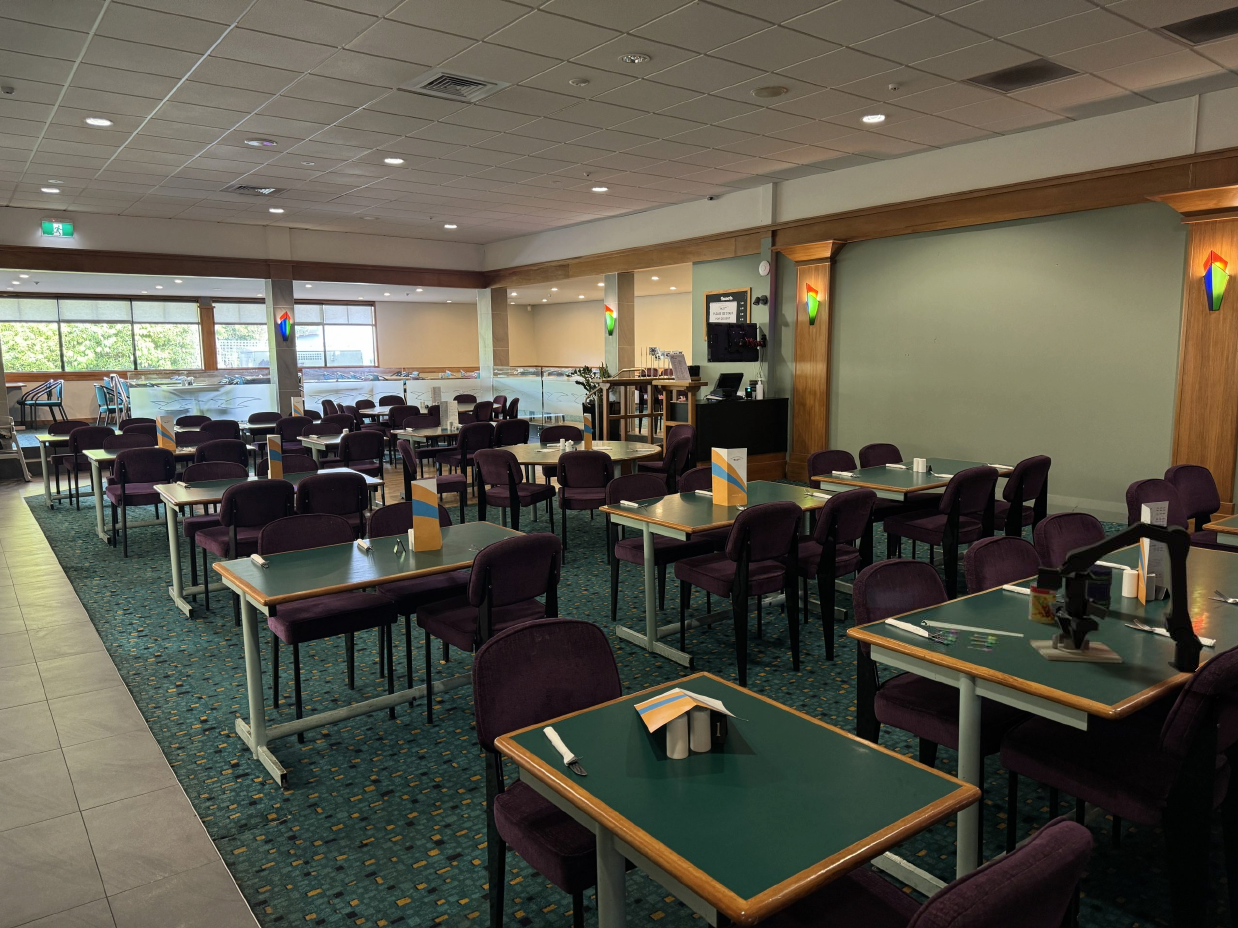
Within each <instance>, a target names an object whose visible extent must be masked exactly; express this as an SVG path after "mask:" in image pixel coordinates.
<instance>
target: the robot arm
mask: <svg viewBox="0 0 1238 928" xmlns="http://www.w3.org/2000/svg"><path fill="white" fill-rule="evenodd" d="M1141 539H1148V540H1152V541H1155V542H1158V543H1162V544H1164V547H1165V550H1166V553H1167V556H1168V563H1169V565H1168V566H1169V592H1170V593H1169V594H1170V608H1169V612H1165V611H1164V612H1163V613H1162V614H1163V618H1164V623H1163V627H1164V630H1165V631H1166V633H1168V635H1169V636H1170V639H1171V640H1172V641H1173V642H1175V645H1174V653H1173V654H1174V656H1173V661H1167V664H1168V665H1169V666H1171V667H1173V668H1174V669H1176V670H1177V671H1178V672H1183V673H1195V672H1194V671H1195V670H1196V669H1197V668H1198V667H1200V657H1201V652H1202V650H1203V648H1204V645H1203V643H1202V641H1201V639H1200V638H1199V636H1198V635H1197V634H1196V633H1195V631H1194V627H1193V623H1192V619H1191V617H1190V613H1189V606H1188V605H1189V604H1188V601H1189V600H1188V579H1187V578H1188V577H1187V576H1188V575H1187V572H1188V571H1187V559H1188V556H1189V552H1190V548H1191V542H1192V537H1191V534H1189V532H1188V530H1186V529H1185V528H1184V527H1182V526H1180V525H1175V524H1174V525H1170V526H1166V525H1162V524H1154V523H1148V522H1145V521H1136V522H1135V523H1133V524H1132V525H1130V526H1127V527H1126V528H1124V529H1122V530H1120V531H1118V532H1116V533H1114V534H1112V535H1110V536H1108V537H1106V538H1104V539H1102V540H1099V541H1097V542H1096V543H1093V544H1090V545H1089V544H1088V545H1084V546H1080V547H1078V548H1073V549H1071V550H1070V551H1068V552H1067V554H1066V557H1065V560H1064V561H1063V562H1062V563H1061V564H1060V565H1059V566H1058V568H1052V567H1051V568H1049V567H1045V566H1038V570H1037V575H1036V582H1037V590H1047V591H1057V593H1058V592H1059V591H1058V590H1061V589H1063V579H1064V592H1063V593H1061V598H1062V599H1063V602H1059V603H1058V602H1056V603H1054V604H1053V605H1052V608H1051V612H1052V613H1054V614H1055V620H1056V621H1057V623H1058V625H1059V627H1060V630H1061V633H1071V635H1072V639H1073V642H1074V645H1075V648H1076V649H1080V648H1081V645H1082V643H1083V641H1084V638H1085V637H1086V636H1087V635H1088V634H1089V633H1090V632H1098V631H1100V624H1099V623H1098V621H1096V620H1095V619H1094V618H1093V617H1096V618H1098V619H1100V620H1102V621H1105V619H1106V617H1107V614H1109V613H1108V610H1107V609H1106V608H1104V607H1102V606H1100V605H1098V601H1096V600H1094V599H1092V598H1090V599H1088V598H1087V581H1088V580H1091V581H1095V576H1094V575H1092V574H1091V573H1090V571H1089V570H1088V571H1087V572H1086V573H1080V572H1084V571H1085V570H1087V569H1088V568H1089V567H1091V566H1092V565H1096V563H1097V562H1098V561H1100V559H1102V558H1104V557H1106V556H1108V555H1109V554H1111V553H1113V552H1116V551H1118V550H1120V549H1122V548H1124V547H1126V546H1129V545H1130V544H1132V543H1134V542H1137V541H1139V540H1141ZM1091 616H1093V617H1091Z"/></svg>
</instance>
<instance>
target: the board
mask: <svg viewBox="0 0 1238 928" xmlns="http://www.w3.org/2000/svg"><path fill="white" fill-rule="evenodd" d="M1029 644H1030V645H1031V646H1032V647H1033V648H1034V649H1035V650H1036V651H1037V652H1038V653H1040V654H1041V656H1043V657H1044V658H1045V659H1046V660H1047V661H1048V660H1049V661H1069V662H1070V661H1073V662H1074V661H1075V662H1095V663H1116V664H1117V663H1120V664H1122V663H1123V658H1122V657H1121V656H1119V654H1118V653H1116V652H1115V651H1114V650H1112V649H1111V648H1110V647H1108V646H1106V645H1105V644H1103V643H1102V642H1099V641H1090V643H1089V650H1065V649H1064V644H1058V635H1057V634H1053V635H1052V640H1051V639H1050V640H1047V639H1030V640H1029Z"/></svg>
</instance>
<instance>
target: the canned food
mask: <svg viewBox="0 0 1238 928" xmlns="http://www.w3.org/2000/svg"><path fill="white" fill-rule="evenodd" d="M1029 587H1030V588H1029V603H1028V605H1029V606H1028V620H1030V621H1031V622H1035V623H1041V624H1053V623H1056V617H1055V615H1056V614H1054V613H1052V612H1051V608H1052V605H1053V604H1054V603H1057V593H1058V592H1057V591H1047V590H1037V581H1032V582H1030V584H1029Z"/></svg>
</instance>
